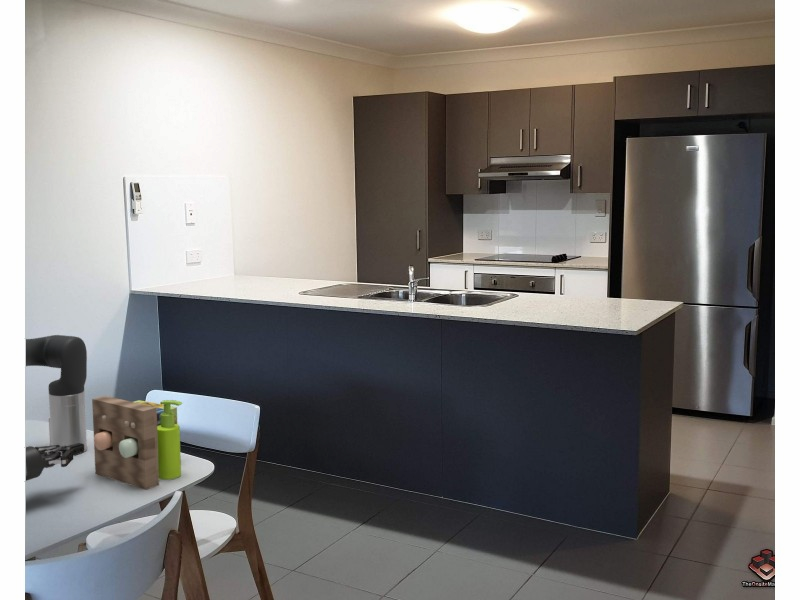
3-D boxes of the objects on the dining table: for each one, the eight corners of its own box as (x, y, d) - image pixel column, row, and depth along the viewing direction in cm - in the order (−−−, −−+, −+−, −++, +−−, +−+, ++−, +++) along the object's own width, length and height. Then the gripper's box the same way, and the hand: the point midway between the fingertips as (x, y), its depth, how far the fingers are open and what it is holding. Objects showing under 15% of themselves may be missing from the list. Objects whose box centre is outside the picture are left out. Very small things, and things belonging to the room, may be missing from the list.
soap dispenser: (177, 480, 195) (175, 404, 193) (153, 478, 197) (150, 403, 194) (188, 472, 201) (186, 398, 199) (164, 470, 203) (162, 397, 200)
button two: (119, 456, 191) (118, 438, 190) (129, 452, 193) (128, 435, 192) (130, 459, 188) (130, 442, 188) (140, 456, 191) (140, 438, 190)
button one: (94, 448, 196) (93, 432, 195) (104, 445, 198) (103, 429, 198) (105, 451, 194) (104, 435, 193) (115, 448, 196) (114, 432, 195)
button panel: (94, 473, 200) (91, 399, 197) (108, 469, 203) (105, 395, 201) (145, 490, 189) (142, 411, 186) (159, 484, 193) (156, 407, 190)
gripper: (31, 456, 172) (98, 437, 186) (-2, 446, 179) (65, 427, 193) (33, 488, 173) (99, 466, 187) (0, 476, 180) (66, 456, 194)
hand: (82, 447), depth 190 cm, fingers closed
